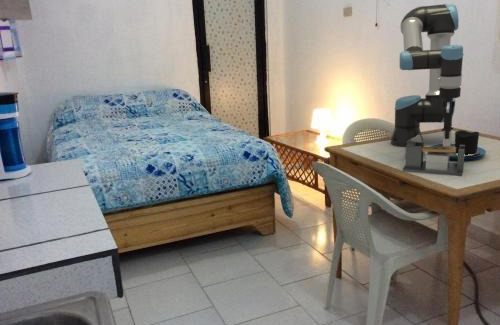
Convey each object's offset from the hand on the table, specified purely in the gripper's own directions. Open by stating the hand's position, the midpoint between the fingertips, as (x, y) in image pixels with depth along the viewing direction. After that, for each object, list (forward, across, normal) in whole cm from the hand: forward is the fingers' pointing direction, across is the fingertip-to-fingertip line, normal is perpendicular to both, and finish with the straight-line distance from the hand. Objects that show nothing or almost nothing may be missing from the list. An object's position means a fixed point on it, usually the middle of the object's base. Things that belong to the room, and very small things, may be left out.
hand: (446, 145), depth 175 cm
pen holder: (+10, -23, +6) cm, 26 cm away
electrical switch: (+10, -16, -14) cm, 23 cm away
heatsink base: (+10, 0, -4) cm, 11 cm away
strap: (+2, 0, -4) cm, 5 cm away
